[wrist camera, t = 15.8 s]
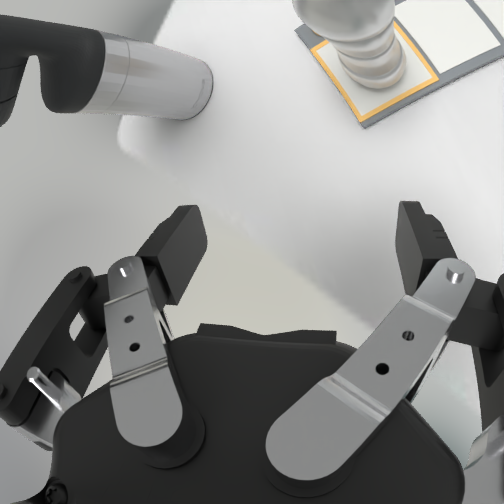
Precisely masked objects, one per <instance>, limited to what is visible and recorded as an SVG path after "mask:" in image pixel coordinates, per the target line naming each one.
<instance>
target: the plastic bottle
mask: <svg viewBox="0 0 504 504" xmlns="http://www.w3.org/2000/svg"><path fill="white" fill-rule="evenodd" d="M292 3H293V7H294V10H295V12H296V14H297V16H298V17H299V18H300V19H301V20H302V22H303V23H305V24H306V25H307V26H308V27H309V28H311V29H312V30H313V31H314V32H316V33H317V34H319V35H320V36H322V37H323V38H324V39H326V40H327V41H329V43H330V44H331V45H332V46H333V47H334V48H335V49H336V51H337V54H338V58H339V61H340V64H341V66H342V68H343V70H344V71H345V72H346V74H347V75H348V76H349V77H350V78H352V79H353V80H354V81H356V82H358V83H360V84H362V85H364V86H366V87H370V88H376V89H380V88H386V87H390V86H392V85H394V84H395V83H396V82H398V81H399V80H400V78H401V77H402V75H403V73H404V71H405V68H406V55H405V51H404V49H403V47H402V45H401V43H400V42H399V40H398V39H397V37H396V35H395V33H394V15H395V0H292Z"/></svg>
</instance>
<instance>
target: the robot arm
mask: <svg viewBox="0 0 504 504" xmlns="http://www.w3.org/2000/svg"><path fill="white" fill-rule="evenodd" d="M31 55H37V56H38V59H39V63H40V72H41V93H42V98H43V101H44V103H45V105H46V107H47V108H48V109H49V110H50V111H52V112H55V113H90V114H119V115H135V116H148V117H159V118H169V119H179V120H185V119H189V118H192V117H194V116H195V115H197V114H198V113H199V112H200V111H201V110H202V109H203V108H204V106H205V105H206V104H207V102H208V100H209V97H210V94H211V91H212V84H213V82H212V75H211V71H210V69H209V68H208V66H207V65H206V64H205V63H204V62H203V61H201V60H199V59H196V58H193V57H191V56H188V55H185V54H182V53H179V52H176V51H173V50H170V49H167V48H164V47H160V46H157V45H154V44H150V43H147V42H143V41H140V40H136V39H132V38H128V37H124V36H120V35H116V34H111V33H107V32H102V31H98V30H93V29H88V28H82V27H76V26H70V25H65V24H58V23H52V22H45V21H39V20H33V19H27V18H21V17H14V16H7V15H0V127H1V126H2V125H3V124H5V122H7V120H8V119H9V117H10V115H11V113H12V110H13V107H14V104H15V101H16V97H17V94H18V90H19V87H20V83H21V80H22V77H23V73H24V70H25V67H26V64H27V60H28V58H29V56H31ZM395 244H396V253H397V257H398V262H399V266H400V270H401V275H402V279H403V284H404V289H405V293H406V295H405V296H404V297H403V298H402V299H401V300H400V301H399V303H398V304H397V305H396V306H395V307H394V309H393V310H392V311H391V312H390V313H389V315H388V316H387V317H386V318H385V319H384V320H383V322H382V323H381V324H380V325H379V326H378V327H377V329H376V330H375V331H374V332H373V333H372V334H371V335H370V336H369V338H368V339H367V340H366V341H365V342H364V343H363V344H362V345H361V346H360V347H359V349H356V348H354V347H352V346H350V345H347V344H344V343H341V342H337V341H336V331H320V330H298V331H291V332H285V333H278V334H271V335H260V334H257V333H253V332H250V331H247V330H243V329H240V328H237V327H233V326H227V325H215V324H204V323H201V324H200V326H199V328H198V331H197V333H193V334H189V335H185V336H181V337H178V338H176V339H174V336H173V333H172V330H171V328H170V325H169V322H168V320H167V316H166V313H165V311H164V309H163V308H164V306H165V304H166V305H178V303H179V301H180V299H181V297H182V295H183V293H184V292H185V290H186V288H187V286H188V284H189V282H190V280H191V278H192V276H193V274H194V272H195V270H196V268H197V267H198V265H199V263H200V261H201V259H202V257H203V255H204V253H205V252H206V249H207V236H206V232H205V228H204V225H203V221H202V217H201V213H200V210H199V207H198V206H197V205H184V206H178V208H177V209H176V210H175V211H174V213H173V214H172V215H171V216H170V217H169V218H167V219H166V220H165V221H163V222H162V223H160V224H159V225H158V226H157V228H156V229H155V230H154V233H152V234H151V235H150V237H149V239H147V241H146V242H145V243H144V244H143V246H142V247H141V248H140V249H139V251H138V252H137V254H136V255H135V256H128V257H125V258H122V259H120V260H118V261H117V262H115V263H114V264H113V265H112V266H111V267H110V268H109V270H108V274H104V275H99V276H94V275H93V273H92V271H91V269H90V268H89V267H87V266H83V267H79V268H76V269H74V270H72V271H71V272H69V273H68V274H67V275H66V276H65V277H64V279H63V280H62V281H61V282H60V284H59V285H58V286H57V288H56V289H55V291H54V292H53V293H52V294H51V296H50V297H49V298H48V300H47V301H46V303H45V304H44V305H43V307H42V308H41V310H40V311H39V312H38V314H37V315H36V317H35V318H34V319H33V321H32V322H31V324H30V325H29V327H28V328H27V330H26V331H25V333H24V334H23V336H22V337H21V339H20V341H19V342H18V344H17V345H16V347H15V348H14V350H13V351H12V353H11V355H10V356H9V358H8V359H7V361H6V363H5V364H4V366H3V368H2V369H1V371H0V417H1V418H2V419H3V420H4V421H6V423H7V424H8V425H9V426H10V427H12V428H13V429H14V430H16V431H17V432H18V433H20V434H21V435H22V436H24V437H25V438H27V439H28V440H30V441H32V442H34V443H35V444H37V445H39V446H40V447H41V448H43V449H45V450H47V451H53V453H52V464H51V470H50V475H49V479H48V481H47V483H46V485H45V487H44V488H43V490H41V491H40V492H39V493H38V494H36V495H35V496H33V497H31V498H29V499H27V500H24V501H19V502H15V503H12V504H504V274H502V275H501V276H500V277H499V279H498V282H497V284H495V283H491V282H487V281H483V280H480V279H477V278H475V277H476V276H475V272H474V270H473V269H472V268H471V266H469V265H468V264H467V263H465V262H464V261H462V260H459V259H458V258H457V256H456V253H455V251H454V249H453V247H452V245H451V243H450V241H449V239H448V236H447V234H446V232H444V228H443V226H442V224H441V222H440V221H439V220H437V219H436V218H435V217H434V216H433V215H430V214H425V213H424V210H423V208H422V206H421V204H420V202H418V201H400V203H399V210H398V220H397V229H396V240H395ZM78 312H79V314H80V315H81V317H82V318H83V320H84V321H85V324H84V326H83V327H82V329H81V331H80V332H79V334H78V336H77V337H76V339H75V341H73V339H72V338H71V336H70V333H69V328H70V325H71V323H72V321H73V320H74V318H75V317H76V315H77V314H78ZM450 340H451V341H455V342H459V343H463V344H467V345H471V347H472V353H473V358H474V364H475V370H476V376H477V383H478V391H479V399H480V408H481V419H482V433H481V434H480V435H479V436H478V437H477V438H476V439H475V440H474V442H473V443H472V446H471V449H470V454H469V460H468V463H467V465H466V467H465V468H464V470H463V468H462V466H461V463H460V461H459V460H458V458H457V457H456V455H455V454H454V453H453V452H452V451H451V450H450V448H449V447H448V446H447V445H446V444H445V443H444V441H443V440H442V439H441V438H440V437H439V436H438V434H437V433H436V432H435V431H434V430H433V429H432V428H431V427H430V425H429V424H428V423H427V422H426V421H425V419H424V418H423V417H422V416H421V415H420V414H419V413H418V412H417V410H416V409H415V408H414V407H413V406H412V405H411V403H412V401H413V400H414V398H415V397H416V395H417V394H418V392H419V391H420V389H421V388H422V386H423V384H424V383H425V381H426V379H427V378H428V376H429V375H430V373H431V372H432V370H433V369H434V367H435V365H436V364H437V362H438V361H439V359H440V357H441V356H442V354H443V352H444V351H445V349H446V347H447V345H448V344H449V342H450ZM107 347H109V355H110V362H111V369H112V375H113V379H112V380H111V381H109V382H108V383H106V384H105V385H103V386H102V387H100V388H98V389H97V390H95V391H94V392H92V393H91V394H89V395H88V396H86V397H85V398H83V396H84V394H85V392H86V390H87V388H88V385H89V384H90V381H91V379H92V377H93V375H94V373H95V371H96V369H97V367H98V365H99V363H100V361H101V359H102V357H103V355H104V353H105V351H106V350H107ZM82 398H83V399H82Z"/></svg>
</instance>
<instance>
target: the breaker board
mask: <svg viewBox="0 0 504 504" xmlns="http://www.w3.org/2000/svg"><path fill="white" fill-rule="evenodd" d="M294 31H295V32H296V33H297V34H298V35H299V37H300V38H301V39H302V40H303V42H304V43H305V44H306V45H307V47H308V48H309V49H310V51H311V52H312V54H313V55H314V56H315V57H316V59H317V60H318V61H319V63H320V64H321V65H322V67H323V68H324V70H325V71H326V72H327V74H328V75H329V77H330V78H331V79H332V81H333V82H334V84H335V85H336V87H337V88H338V89H339V91H340V92H341V94H342V95H343V97H344V98H345V100H346V101H347V103H348V104H349V106H350V107H351V109H352V111H353V112H354V114H355V115H356V117H357V118H358V120H359V122H360V123H361V125H362V126H363V128H367V127H368V126H370V125H372V124H374V123H376V122H377V121H379V120H381V119H383V118H385V117H386V116H388V115H390V114H392V113H394V112H395V111H397V110H399V109H401V108H403V107H405V106H406V105H408V104H410V103H412V102H414V101H416V100H418V99H420V98H421V97H423V96H425V95H427V94H429V93H431V92H433V91H435V90H437V89H439V88H441V87H442V86H444V85H446V84H448V83H450V82H452V81H454V80H456V79H458V78H460V77H462V76H464V75H466V74H468V73H470V72H472V71H474V70H476V69H478V68H480V67H483V66H485V65H487V64H489V63H491V62H493V61H495V60H497V59H499V58H502V57H504V0H395V15H394V33H395V35H396V37H397V39H398V40H399V42H400V43H401V45H402V47H403V49H404V51H405V55H406V68H405V71H404V73H403V75H402V77H401V78H400V80H399V81H398V82H396V83H395V84H394V85H392V86H390V87H386V88H380V89H376V88H370V87H366V86H364V85H362V84H360V83H358V82H356V81H354V80H353V79H352V78H350V77H349V76H348V75H347V74H346V72H345V71H344V70H343V68H342V66H341V64H340V61H339V58H338V54H337V51H336V49H335V48H334V47H333V46H332V45H331V44H330V43H329V41H327V40H326V39H324V38H323V37H322V36H320V35H319V34H317V33H316V32H314V31H313V30H312V29H311V28H309V27H308V26H307V25H306V24H303V25H301V26H300V27H298V28H297V29H295V30H294Z"/></svg>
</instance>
